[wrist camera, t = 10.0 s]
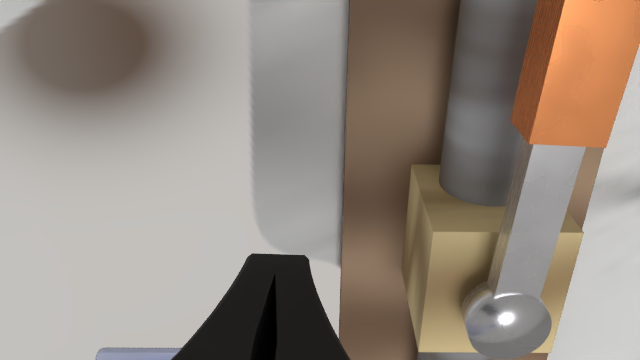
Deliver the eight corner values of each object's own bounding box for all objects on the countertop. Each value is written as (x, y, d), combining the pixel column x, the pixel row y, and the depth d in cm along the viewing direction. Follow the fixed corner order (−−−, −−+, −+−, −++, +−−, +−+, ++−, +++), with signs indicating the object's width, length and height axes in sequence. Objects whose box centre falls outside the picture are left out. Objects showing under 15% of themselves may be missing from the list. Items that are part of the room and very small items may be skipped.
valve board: (524, 402, 30) (569, 517, 24) (336, 401, 30) (340, 515, 24) (654, -102, 19) (790, -95, 13) (352, -105, 19) (366, -98, 13)
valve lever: (527, 332, 19) (543, 368, 18) (453, 329, 19) (463, 364, 18) (649, -69, 13) (687, -64, 12) (541, -76, 13) (568, -70, 12)
